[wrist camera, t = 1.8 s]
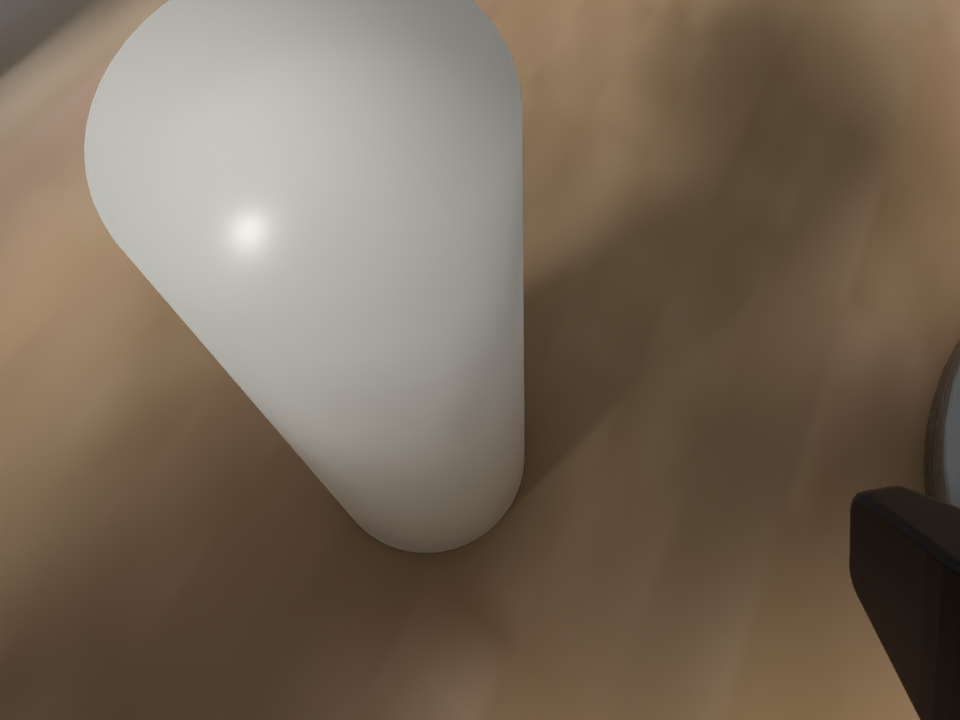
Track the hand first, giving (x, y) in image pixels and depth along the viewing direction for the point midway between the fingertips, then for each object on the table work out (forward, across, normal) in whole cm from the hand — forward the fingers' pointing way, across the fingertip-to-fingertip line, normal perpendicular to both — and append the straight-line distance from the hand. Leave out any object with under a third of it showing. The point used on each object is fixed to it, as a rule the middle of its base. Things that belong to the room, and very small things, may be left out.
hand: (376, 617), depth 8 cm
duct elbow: (+12, 0, +4) cm, 13 cm away
